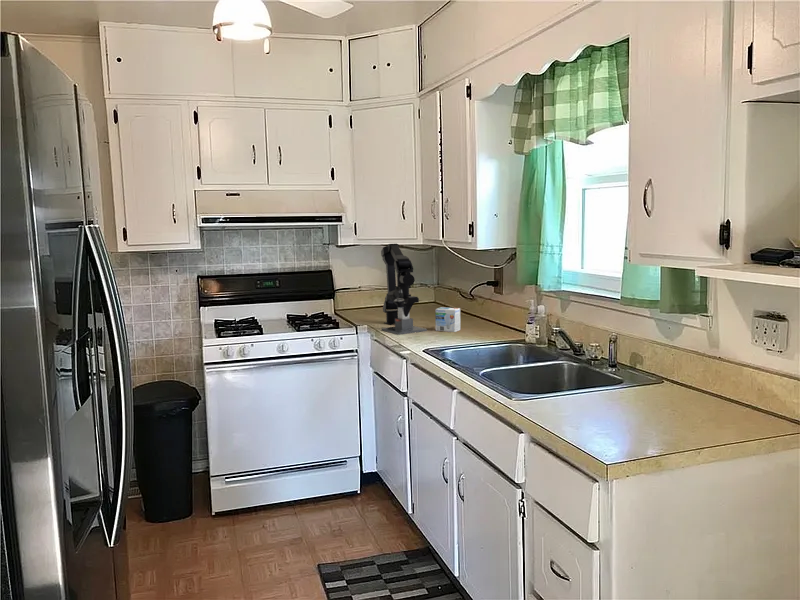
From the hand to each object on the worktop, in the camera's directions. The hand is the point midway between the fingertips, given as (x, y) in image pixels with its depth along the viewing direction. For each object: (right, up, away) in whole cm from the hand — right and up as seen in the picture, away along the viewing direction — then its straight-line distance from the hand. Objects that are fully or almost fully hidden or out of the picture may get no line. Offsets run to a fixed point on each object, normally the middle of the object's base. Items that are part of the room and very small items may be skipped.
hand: (403, 316), depth 327 cm
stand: (0, -7, +1) cm, 7 cm away
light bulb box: (+21, -7, -1) cm, 23 cm away
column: (0, -6, +1) cm, 6 cm away
